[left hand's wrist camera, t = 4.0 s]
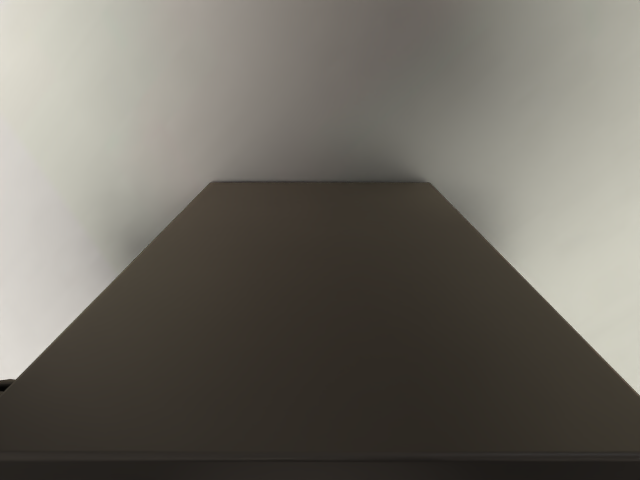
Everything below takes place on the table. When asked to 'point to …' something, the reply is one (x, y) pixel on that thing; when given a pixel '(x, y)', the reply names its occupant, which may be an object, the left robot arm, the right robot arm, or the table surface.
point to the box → (320, 355)
